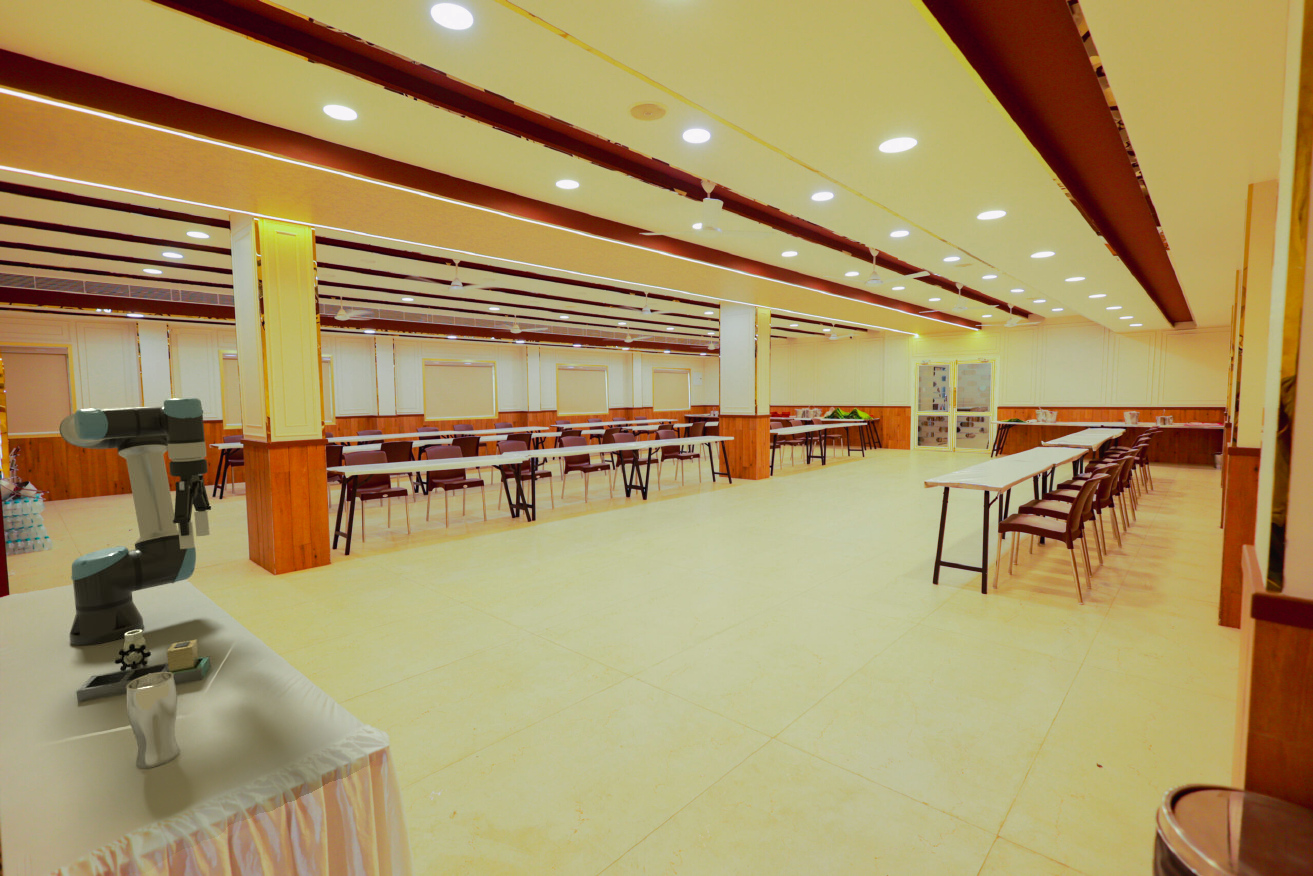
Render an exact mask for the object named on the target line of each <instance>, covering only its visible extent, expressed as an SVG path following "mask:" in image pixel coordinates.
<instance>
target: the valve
mask: <svg viewBox="0 0 1313 876" xmlns="http://www.w3.org/2000/svg"><path fill="white" fill-rule="evenodd" d="M146 648H147V644H146V639H145V638H144V637H143V629H141V630H133V631H129V632H127V633H125V637H124V644H123V648H121V649H120V650H118V655H119V656H120V658H116V659H115V660H114V664H116V665H119V664H122V665H120V668H119V670H120V671H125V670H127V668H131V669H137V668H138V666H139V665H141V666H142V667H146V666H147V664H148V663H149V662H148V659H147V660H146V658H149V657H151V655H152V652H151V651H146V652H145V650H146ZM141 656H142V657H141ZM125 657H126V659H128V661H130V662H132V663H131V664H130V663H127V662H126V661H125ZM139 657H141V659H140V660H139V661H138V662H137V660H138V659H139ZM131 669H130V670H131Z"/></svg>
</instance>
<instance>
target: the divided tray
mask: <svg viewBox="0 0 1313 876" xmlns="http://www.w3.org/2000/svg"><path fill="white" fill-rule="evenodd" d="M198 657H199V656H198ZM210 667H211V657H210V656H200V657H199V665H198V667H197V668H196V669H190V670H184V671H178V672H173V675H174V681H175V685H176V686H177V685H183V684H186V683H192V682H198V681H203V679H204V677H205V676H206V674H207V672H208V671H209V670H210ZM157 672H169V667H168V662H166V663H162V664H155V665H149V666H142V667H137V669H126V670H124V671H121V670H120V671H114V672H108V673H102V674H97V675H96V674H95V675H91V676H90V677H89V678H88V679H87V680H86V681H85V682H84V683H83V684H82V685H81V686H80V687H79V688H78V689H77V690H76V692H75V693H76V699H77V703H80V702H86V701H87V702H88V701H93V700H98V699H104V698H108V697H109V698H110V697H114V696H120V695H127V688H126V687H127V685H128V684H129V683H130V682H131V681H133V680H135V679H137V678H139V677H142V676H145V675H148V674H152V673H157Z"/></svg>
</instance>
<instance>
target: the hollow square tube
mask: <svg viewBox="0 0 1313 876" xmlns="http://www.w3.org/2000/svg"><path fill="white" fill-rule="evenodd" d="M198 648H199V647H198V639H192V640H185V641H181V642H174V643H172V644H171V645H170V646H169V647H168V649H167V651H166V656H167V663H168V667H169V672H171V673H173V672H178V671H184V670H190V669H196V668H197V667H198V665H199V650H198Z"/></svg>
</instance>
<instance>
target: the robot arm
mask: <svg viewBox="0 0 1313 876" xmlns="http://www.w3.org/2000/svg"><path fill="white" fill-rule="evenodd" d="M204 426H205V425H204V410H203V405H202V401H201V400H200V399H199V398H196V397H193V398H192V397H191V398H189V397H188V398H186V397H185V398H184V397H183V398H166V399H165V400H163V405H162V406H161V405H157V406H155V405H154V406H134V407H133V406H131V407H101V408H100V407H98V408H97V407H90V408H81V409H77V410H76V411H75V412H74V413H72V414H68V416H66V417H64V419H63V420H61V422H60V424H59V434H60V436H61V438H62V439H63V440H64V441H65V442H66V443H68V444H70V445H73V446H75V447H78V448H83V449H90V450H91V449H93V450H95V449H96V450H106V449H117V454H118V456H120V457H122V458H124V459H125V460H126V464H127V470H128V476H129V482H130V487H131V491H132V492H131V493H132V498H133V506H134V509H135V515H136V516H135V517H136V521H137V526H138V532H139V533H138V534H139V538H138V539H137V540H136V541H135V542H134V549H131V550H129V548H128V547H127V546H115V547H107V548H103V549H99V550H96V551H95V550H94V551H92V552H89V553H86V554H83V555H82V556H79V557H78V558H76V559H75V560H73V562H72V563H71V577H70V578H71V580H72V585H73V595H74V606H75V616H74V619H73V622H72V624H71V628H70V631H69V642H70V644H72V645H74V646H75V645H76V646H89V645H96V644H102V643H103V644H104V643H107V642H112V641H116V640H119V639H122V638H125V633H127V632H129V631H133V630H143V628H144V618H143V617H142V614H141V613H140V611H139V610H138V608H137V606H136V604H135V603H134V600H133V592H136V591H140V590H145V589H149V588H150V589H151V588H155V587H160V586H164V585H169V584H175V583H176V582H180V581H181V582H182V581H185V580H187V579H189V578H191V577H192V575H193V574H194V572H195V568H196V562H197V561H196V560H197V559H196V558H197V551H196V546H195V536H196V537H205V536H209V535H210V526H209V525H210V523H209V515H208V512H209V511H210V510H212V506H211V505H210V502H209V501H210V500H209V498H208V494H207V489H206V486H205V479H204V475H205V474H207V473H208V472H209V471H208V469H209V468H208V459H206V457H207V446H206V439H205V438H206V437H205V429H204ZM166 452H168V459H169V460H171V461H170V462H169V464H168V466H169V467H168V468H169V474H170V476H171V477H175V478H176V477H178V478H179V479H180V481H175V483H174V484H175V499H174V500H175V501H174V504H173V499H172V494H171V488H170V484H169V479H168V473H167V468H166V462H165V457H164V455H165V453H166ZM193 508H194V509H195V511H194V515H193V516H194V523H195V535H194V526H193V525H194V524H193V520H192V512H193Z"/></svg>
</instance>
